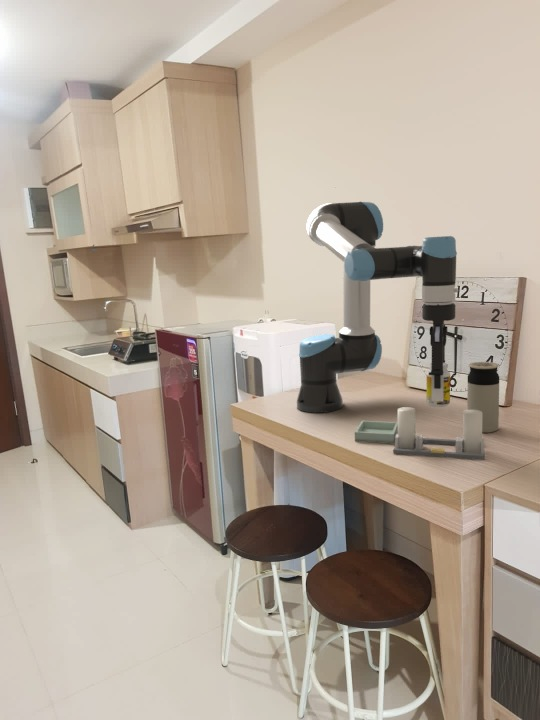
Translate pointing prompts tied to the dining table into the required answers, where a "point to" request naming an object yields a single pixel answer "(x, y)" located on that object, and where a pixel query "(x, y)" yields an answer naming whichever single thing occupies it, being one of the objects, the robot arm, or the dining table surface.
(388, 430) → the tray
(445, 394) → the supplement bottle
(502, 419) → the dining table surface
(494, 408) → the travel mug
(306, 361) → the robot arm
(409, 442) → the twin cylinder holder
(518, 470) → the dining table surface
